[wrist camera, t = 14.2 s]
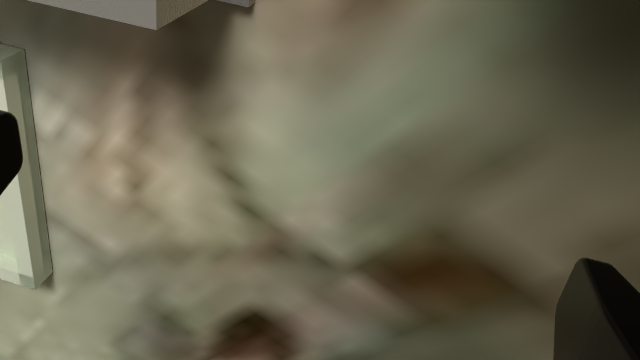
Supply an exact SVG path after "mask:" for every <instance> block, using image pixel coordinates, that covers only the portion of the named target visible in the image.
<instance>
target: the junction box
mask: <svg viewBox="0 0 640 360" xmlns="http://www.w3.org/2000/svg"><path fill="white" fill-rule="evenodd" d="M28 1H32V2H37V3H41V4H45V5H50V6H54V7H58V8H63V9H67V10H71V11H76V12H80V13H84V14H88V15H93V16H97V17H101V18H106V19H110V20H114V21H119V22H123V23H127V24H131V25H136V26H140V27H144V28H149V29H153V30H158V29H160V28H161V27H163V26H165V25H166V24H168V23H170V22H172V21H173V20H175V19H177V18H179V17H180V16H182V15H184V14H186V13H187V12H189V11H191V10H192V9H194V8H196V7H198V6H199V5H201V4H203V3H205V2H206V1H208V0H28ZM218 1H222V2H227V3H231V4H236V5H240V6H245V7H250V6H251V5H253V4H254V3H255V0H218Z"/></svg>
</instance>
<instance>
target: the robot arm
mask: <svg viewBox="0 0 640 360" xmlns="http://www.w3.org/2000/svg"><path fill="white" fill-rule="evenodd" d="M22 163H23V152H22V146H21V139H20V133H19V126H18V122H17V119H16V117H15V116H14V115H13V114H12V113H10V112H6V111H2V110H0V195H1V194H2V193H3V192H4V190H5V189H6V188H7V187H8V185H9V184H10V183H11V181H12V180H13V179H14V178H15V176H16V175H17V174H18V172H19V171H20V169H21V167H22ZM553 360H640V293H639V292H638V291H637V290H636V289H635V288H634V287H633V286H632V285H631V284H630V283H629V282H628V281H627V280H626V279H625V278H624V277H623V276H622V275H621V274H620V273H619V272H618V271H617V270H616V269H615V268H614V267H613V266H612V265H610V264H608V263H605V262H601V261H597V260H593V259H589V258H581V259H579V260H578V261H577V263H576V264H575V266H574V268H573V270H572V272H571V274H570V277H569V279H568V281H567V283H566V285H565V287H564V290H563V292H562V294H561V296H560V298H559V301H558V304H557V308H556V314H555V334H554V357H553Z"/></svg>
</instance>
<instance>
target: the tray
mask: <svg viewBox="0 0 640 360" xmlns="http://www.w3.org/2000/svg"><path fill="white" fill-rule="evenodd" d="M0 110H2V111H6V112H10V113H12V114H13V115H14V116H15V117H16V119H17V122H18V126H19V133H20V139H21V146H22V152H23V163H22V167H21V169H20V171H19V172H18V174H17V175H16V176H15V178H14V179H13V180H12V181H11V183H10V184H9V185H8V187H7V188H6V189H5V190H4V192H3V193H2V194H1V195H0V279H2V280H5V281H8V282H12V283H15V284H18V285H21V286H24V287H28V288H31V289H34V290H35V289H36V288H37V287H38V286H39V285H40V284H41V283H42V282H43V281H44V280H45V279H46V278H47V277H49V276H50V275H51V274H52V273H53V270H52V262H51V255H50V247H49V239H48V231H47V223H46V215H45V208H44V200H43V192H42V184H41V176H40V169H39V161H38V153H37V145H36V137H35V130H34V122H33V114H32V106H31V98H30V90H29V83H28V75H27V67H26V59H25V51H24V49H20V48H16V47H12V46H8V45H4V44H0Z"/></svg>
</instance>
